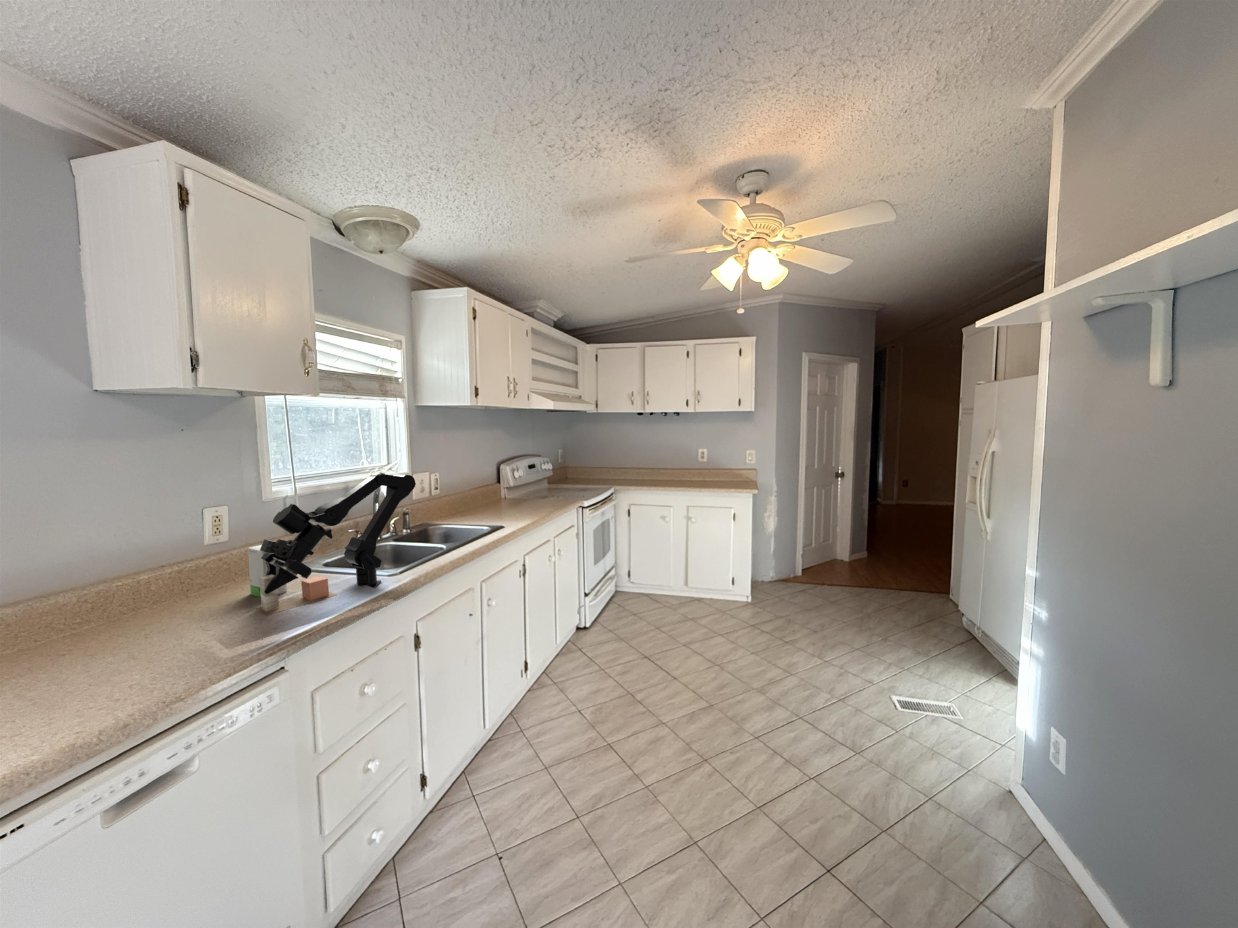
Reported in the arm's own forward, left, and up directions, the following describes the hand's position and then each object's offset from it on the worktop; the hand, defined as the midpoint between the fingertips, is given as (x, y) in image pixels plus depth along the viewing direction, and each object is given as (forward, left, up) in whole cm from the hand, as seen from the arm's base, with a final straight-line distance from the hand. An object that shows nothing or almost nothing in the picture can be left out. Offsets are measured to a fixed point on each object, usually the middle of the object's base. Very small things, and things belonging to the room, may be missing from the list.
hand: (263, 591), depth 132 cm
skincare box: (-16, -7, -7) cm, 19 cm away
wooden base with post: (-6, +5, -6) cm, 10 cm away
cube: (-10, +9, -5) cm, 14 cm away
